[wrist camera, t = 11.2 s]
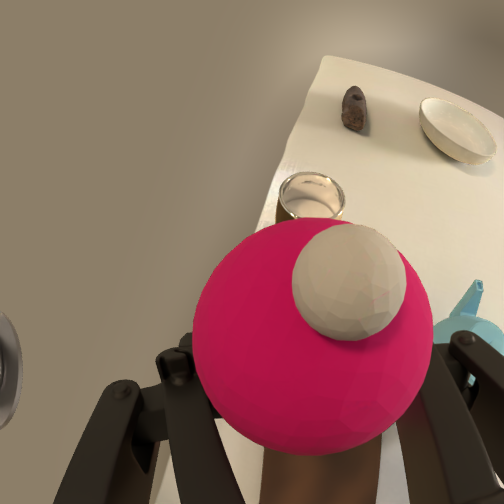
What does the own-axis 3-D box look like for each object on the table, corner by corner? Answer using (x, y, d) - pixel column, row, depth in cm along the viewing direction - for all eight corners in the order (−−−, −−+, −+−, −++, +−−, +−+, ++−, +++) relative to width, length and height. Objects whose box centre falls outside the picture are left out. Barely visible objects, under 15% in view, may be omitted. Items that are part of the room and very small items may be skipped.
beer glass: (310, 299, 39) (334, 235, 26) (263, 277, 41) (264, 206, 28) (329, 258, 42) (355, 185, 29) (285, 238, 44) (293, 161, 31)
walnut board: (256, 531, 24) (256, 534, 23) (265, 432, 31) (265, 433, 30) (369, 525, 23) (371, 527, 22) (379, 429, 30) (382, 429, 29)
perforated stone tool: (341, 99, 64) (346, 75, 58) (362, 104, 63) (368, 80, 57) (337, 132, 57) (343, 105, 51) (362, 138, 56) (369, 111, 50)
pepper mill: (257, 327, 23) (248, 73, 6) (340, 365, 22) (532, 190, 4) (212, 407, 20) (8, 352, 3) (299, 448, 18) (473, 562, 1)
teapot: (442, 445, 27) (492, 446, 18) (382, 371, 34) (423, 352, 24) (498, 368, 31) (545, 349, 22) (447, 301, 38) (487, 267, 28)
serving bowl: (494, 188, 50) (508, 167, 44) (418, 160, 53) (429, 135, 47) (473, 134, 60) (482, 115, 54) (407, 109, 63) (414, 87, 57)
